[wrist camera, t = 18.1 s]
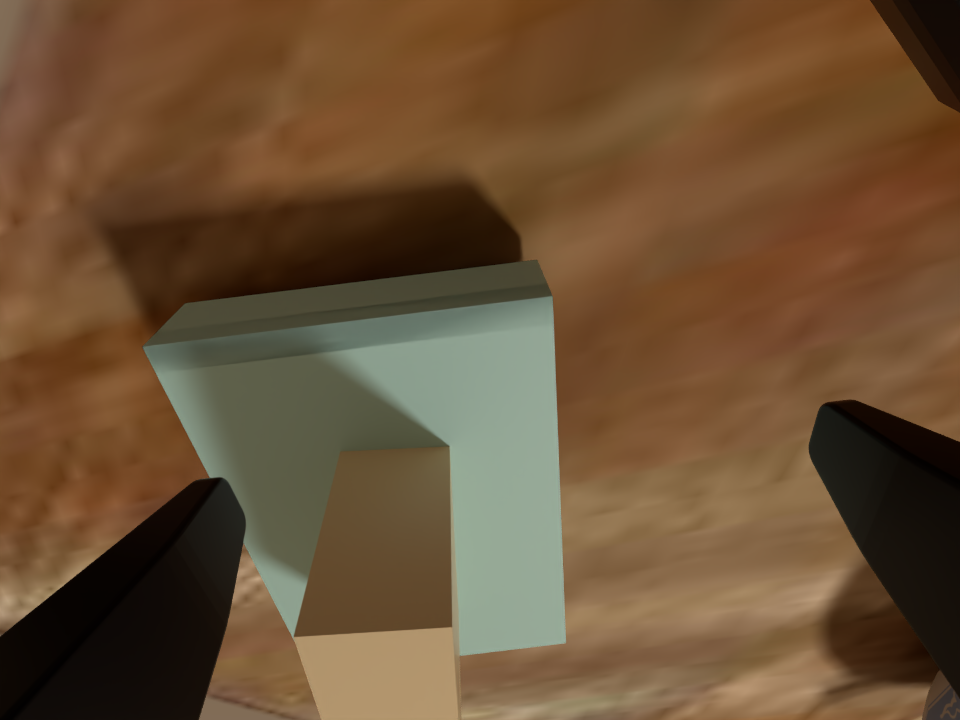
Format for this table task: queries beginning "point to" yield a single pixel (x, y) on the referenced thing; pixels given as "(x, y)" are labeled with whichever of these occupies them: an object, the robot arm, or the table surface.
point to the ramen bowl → (941, 701)
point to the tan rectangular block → (384, 591)
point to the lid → (387, 423)
